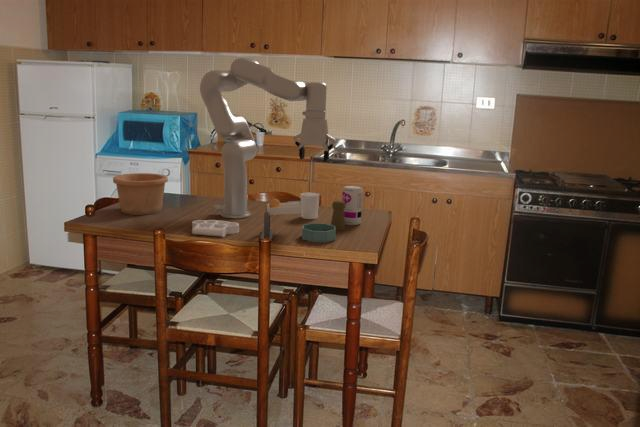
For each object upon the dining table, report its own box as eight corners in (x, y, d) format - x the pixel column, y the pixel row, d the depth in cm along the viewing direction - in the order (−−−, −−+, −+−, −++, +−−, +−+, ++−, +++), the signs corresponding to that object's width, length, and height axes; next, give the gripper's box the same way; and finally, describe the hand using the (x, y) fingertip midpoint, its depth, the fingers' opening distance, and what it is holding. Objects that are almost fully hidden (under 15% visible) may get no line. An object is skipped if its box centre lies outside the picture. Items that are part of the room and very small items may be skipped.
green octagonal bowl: (302, 241, 210) (302, 231, 209) (302, 233, 222) (302, 222, 221) (336, 242, 211) (336, 231, 210) (334, 233, 223) (334, 223, 222)
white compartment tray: (183, 235, 214) (198, 226, 228) (231, 239, 211) (243, 229, 226) (183, 226, 213) (198, 217, 228) (231, 230, 211) (243, 221, 225)
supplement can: (347, 226, 235) (349, 189, 232) (337, 221, 242) (339, 185, 239) (364, 224, 239) (366, 188, 235) (354, 220, 246) (356, 184, 242)
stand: (260, 241, 209) (260, 214, 207) (262, 231, 222) (263, 205, 220) (271, 241, 209) (271, 214, 207) (273, 231, 223) (273, 205, 220)
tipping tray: (266, 215, 210) (266, 208, 209) (269, 204, 227) (269, 198, 227) (300, 213, 210) (300, 206, 209) (300, 203, 228) (300, 196, 227)
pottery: (174, 206, 259) (173, 174, 256) (159, 217, 238) (158, 182, 234) (125, 204, 260) (124, 172, 256) (106, 215, 238) (104, 180, 235)
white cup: (316, 220, 243) (317, 196, 241) (298, 218, 244) (298, 195, 242) (320, 216, 250) (321, 193, 248) (302, 214, 252) (303, 191, 250)
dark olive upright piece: (329, 226, 234) (330, 199, 232) (344, 226, 235) (345, 199, 232) (330, 230, 228) (332, 202, 226) (346, 230, 229) (347, 202, 226)
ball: (269, 211, 212) (268, 200, 211) (269, 208, 215) (268, 198, 214) (280, 210, 212) (279, 199, 211) (280, 207, 215) (279, 197, 215)
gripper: (290, 114, 223) (289, 159, 227) (334, 117, 218) (332, 163, 222) (297, 113, 230) (296, 157, 234) (340, 116, 225) (337, 160, 229)
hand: (313, 159), depth 228 cm, fingers open, 9 cm apart
